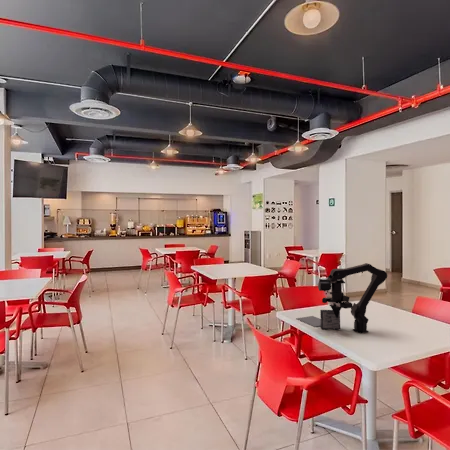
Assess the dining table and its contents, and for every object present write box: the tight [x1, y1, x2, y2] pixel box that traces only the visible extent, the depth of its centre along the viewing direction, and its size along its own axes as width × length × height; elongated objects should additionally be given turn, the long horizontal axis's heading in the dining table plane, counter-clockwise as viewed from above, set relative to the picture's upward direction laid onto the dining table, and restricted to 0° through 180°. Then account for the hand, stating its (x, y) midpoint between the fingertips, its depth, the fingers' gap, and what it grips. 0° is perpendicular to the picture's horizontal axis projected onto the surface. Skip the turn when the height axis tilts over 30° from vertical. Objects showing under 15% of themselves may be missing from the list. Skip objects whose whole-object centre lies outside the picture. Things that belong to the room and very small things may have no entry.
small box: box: [319, 309, 341, 330], centre depth 198 cm, size 11×6×10 cm, turn 85°
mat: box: [295, 315, 321, 328], centre depth 210 cm, size 18×14×1 cm
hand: (337, 317), depth 193 cm, fingers closed
